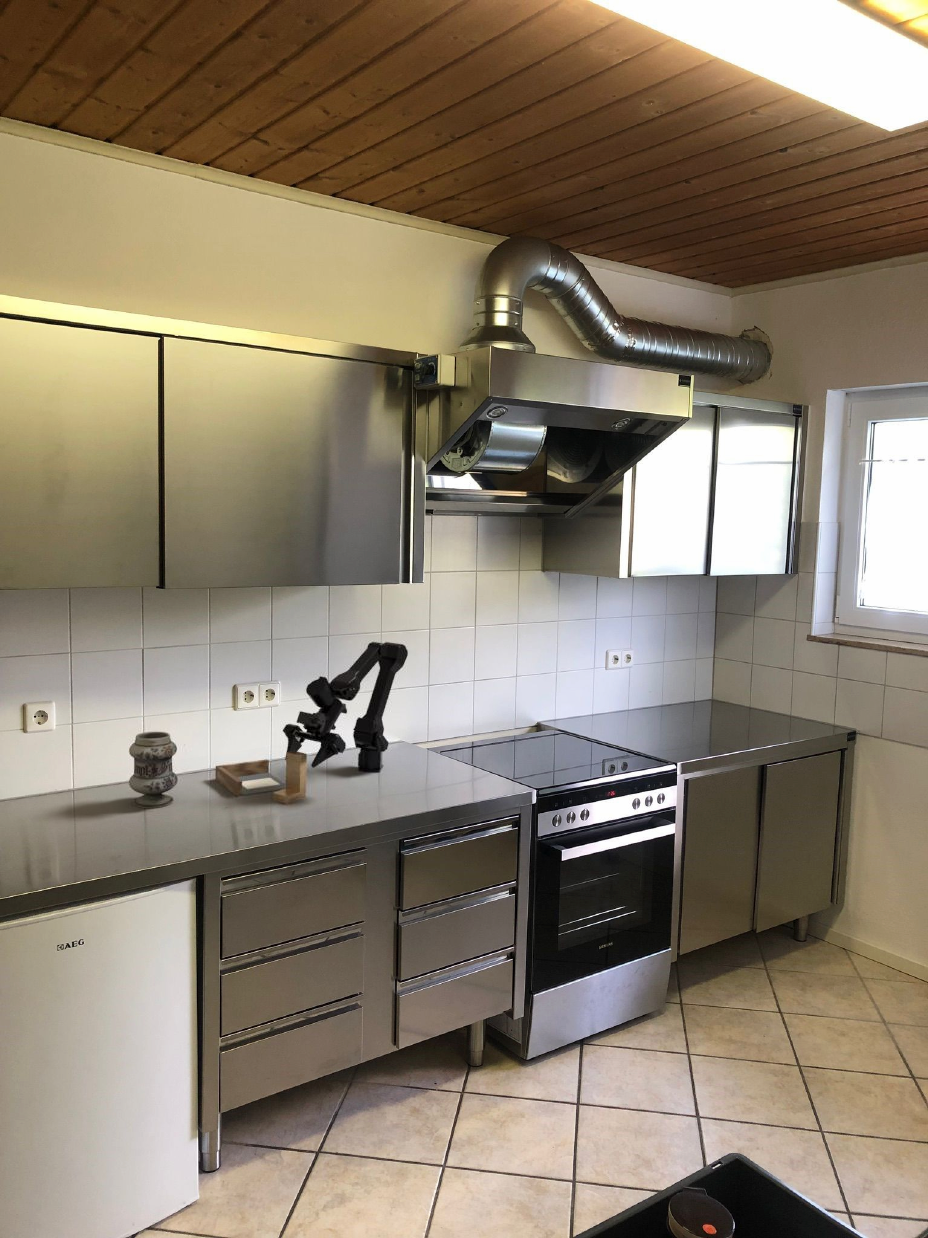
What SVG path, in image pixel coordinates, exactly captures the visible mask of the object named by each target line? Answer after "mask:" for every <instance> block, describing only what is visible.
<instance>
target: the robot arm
mask: <svg viewBox="0 0 928 1238" xmlns="http://www.w3.org/2000/svg"><path fill="white" fill-rule="evenodd" d="M408 654H409V651H408V649H407V647H406V645H405V644H403V643H398V642H397V643H396V642H389V641H385V642H377V641H371V642H370V643H368V644H367V647H366V649H365V650H364V651H363V652H362V654H361V655H360V656H359V657H358V658H357V659H356V660H355V662H353V664H352V665H351V667H349V668H348V670H346V671H344V672H342V673H339V674H337V676H335V677H334V678H332V680H331V681H330V682H329V680H328V678H327V677H326V676H319V677H318V678H317V679H315V680H313V681H311V682H310V683H308V684H307V686H306V688H305V692H306V694H307V696H308V697H309V698H310V699H311V701H312V703H313V704H314V705H315V706H316V707H318V708H319V709H318V711H316V712H313V713H311V712H306V711H299V712H298V715H297V716H298V717H297V719H296V723H297V724H293V723H287V724H285V726H284V727H283V729H282V733H284V735H285V737H286V738H287V748H286V752H289V751H297V752H299V750H300V749H301V748H302V746H303V745H302V743H303V744H304V742H305V741H306V740H308V741H313V742H316V743H320V747H319V749H318V751H317V753H316V754H315V757H314V758H313V760H312V763H311V764H310V767H311V768H313V769H314V768H316V767H317V766H319V765H320V764H322V763H323V762H325V761H326V760H328V759H330V758H332V757H333V756H337V755H339V753H340V754H343V753H344V752H345V750H346V748H347V744H346V742H345V741H344V739H343V738H342V736H341V734H339V733H336V732H331V731H335V730H336V728H337V726H336V725H335V724H336V722H337V721H338V719H339V717H340V715H341V714H345V715H347V714H348V709H347V706H346V705H347V704H346V703H343V702H342V701H341V700H343V701H350V702H351V701H353V700H354V699H355V698H356V696H357V695H358V693H359V691H360V690H361V682H362V681H363V680H364V679H365V678H366V677H367V675H368V674H369V673H370V672H371V670H372V669H373V668H374V667H375V666H376V664H378V666H379V670H378V674H377V675H376V677H377V678H376V680H375V683H374V686H373V689H372V693H371V696H370V699H369V703H368V706H367V709H366V713H365V714H364V715H363V716H362V717H357V718H356V721H355V724H354V727H353V729H352V730H353V732H352V734H353V735H352V737H353V741H354V746H355V748H356V749H360V750H359V752H358V757H357V767H358V771H362V772H375V773H376V772H377V773H379V772H381V771H382V769H383V768H384V764H383V753H385V752H386V750H388V749H389V748H388V747H389V741H388V740H387V738H386V737H385V736H384V731H385V727H384V723H383V716H384V713H385V710H386V706H387V702H388V701H389V700H388V699H389V696H390V693H391V690H392V688H393V687H392V685H393V682H394V680H395V676H396V674H397V673H398V672H400V670H401V669H402V668H403V667H404V665H405V663H406V660H407V658H408ZM298 724H301V725H303V726H302V728H301V727H300V726H299V725H298ZM303 729H304V730H306V731H303ZM284 758H285V759H284V760H285V761H286V756H285V757H284Z"/></svg>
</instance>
